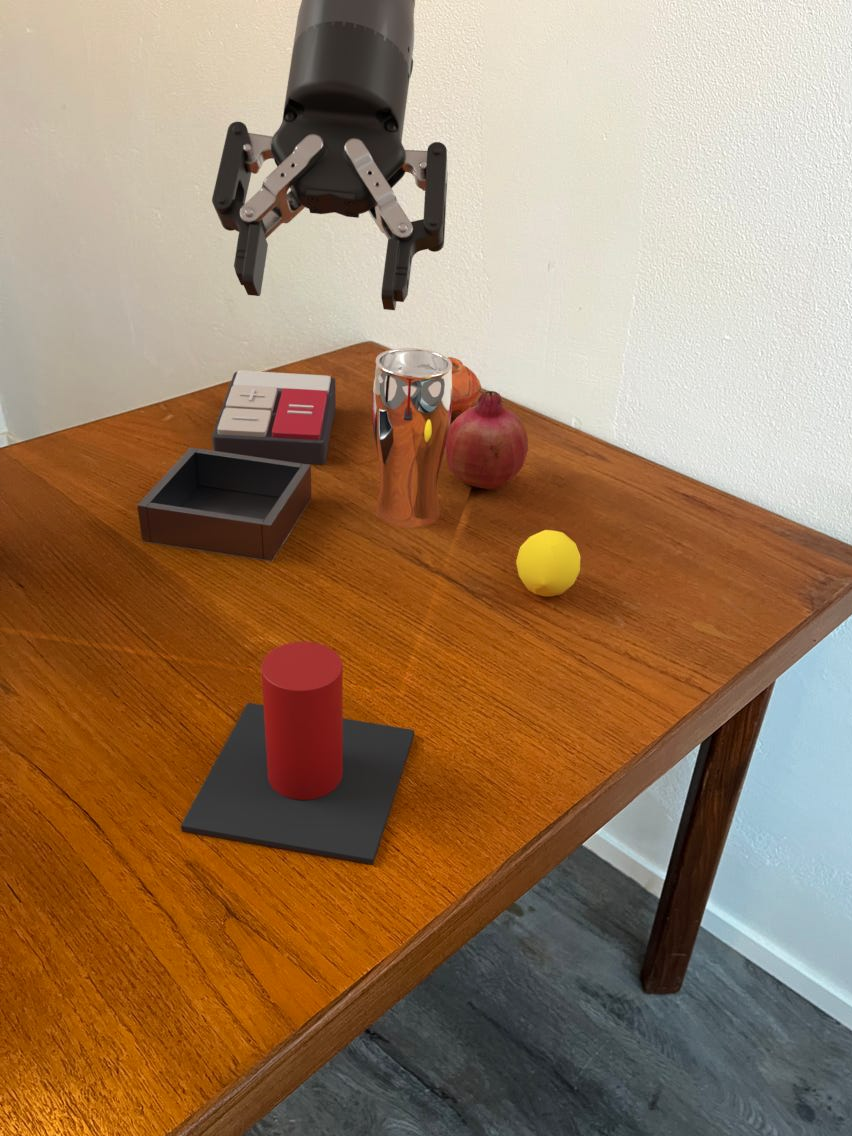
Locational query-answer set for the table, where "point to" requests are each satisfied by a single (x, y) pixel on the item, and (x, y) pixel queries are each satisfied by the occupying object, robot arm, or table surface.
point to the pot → (463, 386)
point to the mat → (318, 826)
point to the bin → (226, 504)
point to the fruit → (486, 444)
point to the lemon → (548, 563)
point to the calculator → (277, 416)
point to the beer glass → (410, 433)
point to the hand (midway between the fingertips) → (319, 297)
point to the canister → (303, 719)
